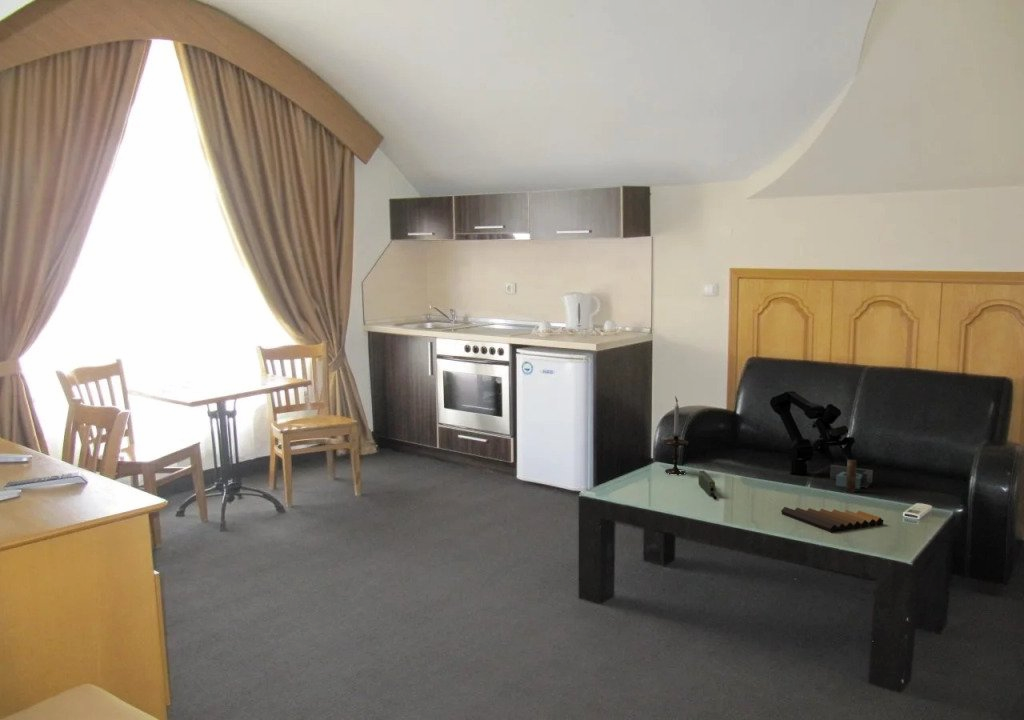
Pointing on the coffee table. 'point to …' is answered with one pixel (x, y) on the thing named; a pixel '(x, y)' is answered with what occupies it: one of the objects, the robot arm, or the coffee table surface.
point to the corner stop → (865, 473)
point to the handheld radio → (707, 483)
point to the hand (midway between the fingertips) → (842, 460)
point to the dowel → (851, 476)
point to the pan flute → (833, 519)
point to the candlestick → (675, 443)
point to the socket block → (843, 476)
